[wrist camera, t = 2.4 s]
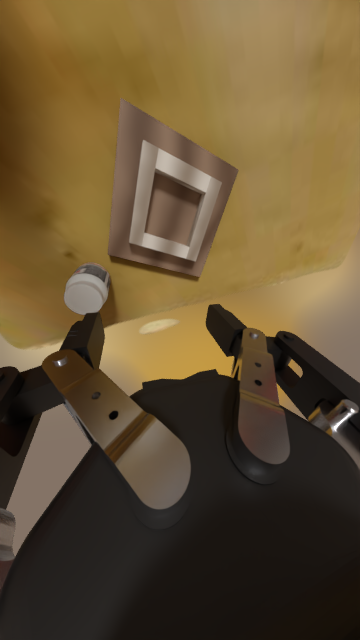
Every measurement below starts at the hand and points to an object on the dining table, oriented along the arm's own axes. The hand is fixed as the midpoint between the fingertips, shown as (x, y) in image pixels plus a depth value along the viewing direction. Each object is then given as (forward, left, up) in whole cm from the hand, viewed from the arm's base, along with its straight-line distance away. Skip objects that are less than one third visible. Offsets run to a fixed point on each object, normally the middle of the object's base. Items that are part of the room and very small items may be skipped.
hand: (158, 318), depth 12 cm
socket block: (+4, +8, -22) cm, 24 cm away
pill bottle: (-7, -6, -23) cm, 24 cm away
